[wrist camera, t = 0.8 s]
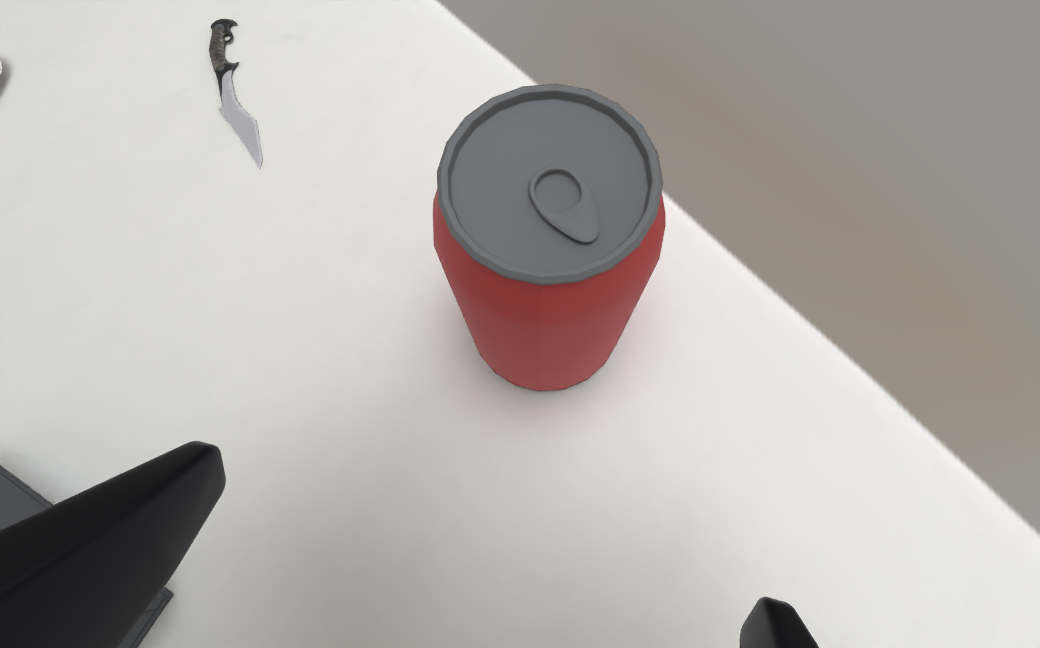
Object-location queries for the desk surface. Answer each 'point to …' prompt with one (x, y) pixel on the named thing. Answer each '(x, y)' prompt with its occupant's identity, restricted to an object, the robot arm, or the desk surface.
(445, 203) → the beer can
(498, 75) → the desk surface
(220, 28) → the knife
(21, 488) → the dark square open box
